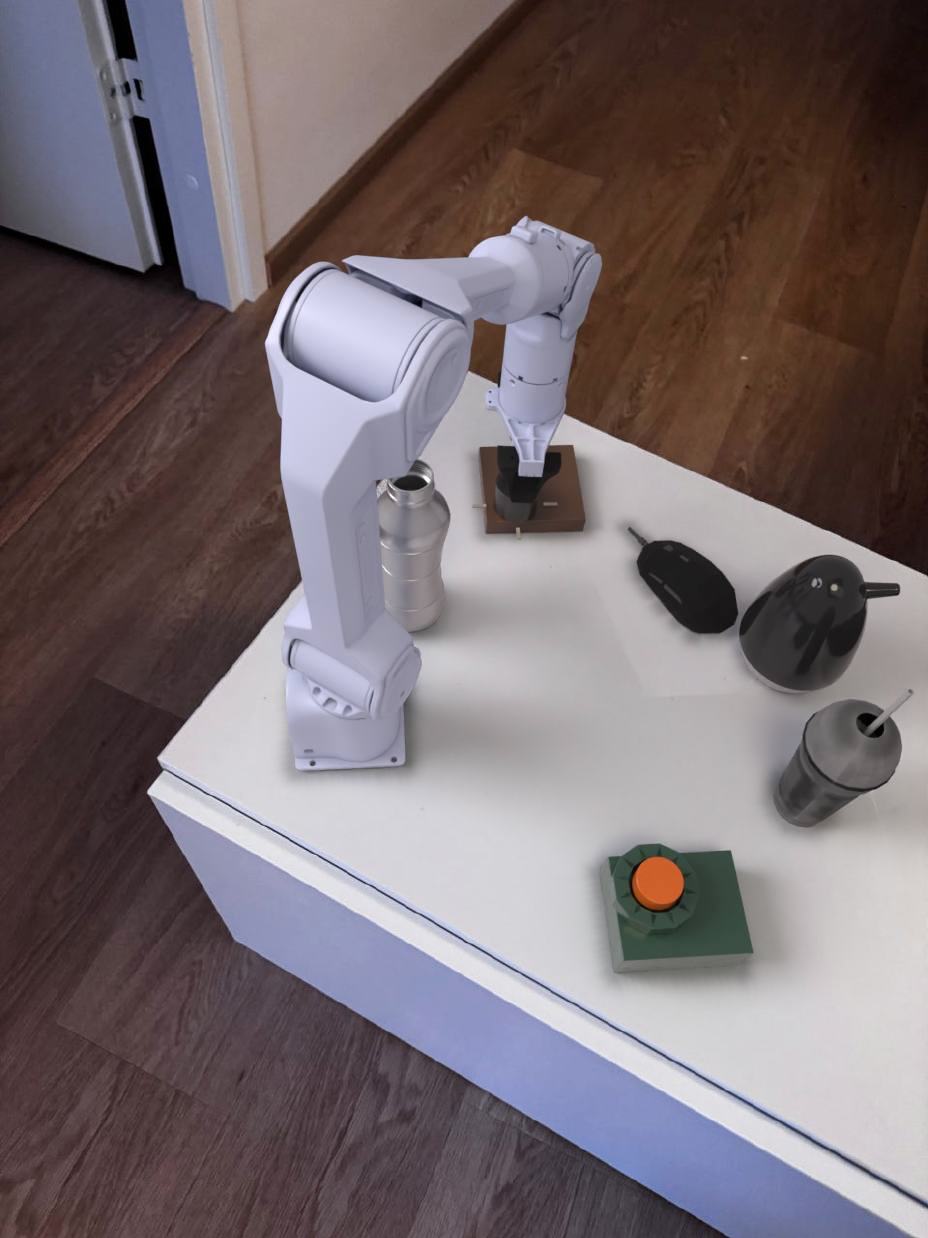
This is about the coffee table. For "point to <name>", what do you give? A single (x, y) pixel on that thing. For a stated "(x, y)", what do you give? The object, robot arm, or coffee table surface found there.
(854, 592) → the black bird figure
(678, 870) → the button
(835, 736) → the beverage cup
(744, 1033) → the coffee table surface
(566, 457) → the control panel
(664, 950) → the button box
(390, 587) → the metal bottle
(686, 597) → the gaming mouse
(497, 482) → the knob
